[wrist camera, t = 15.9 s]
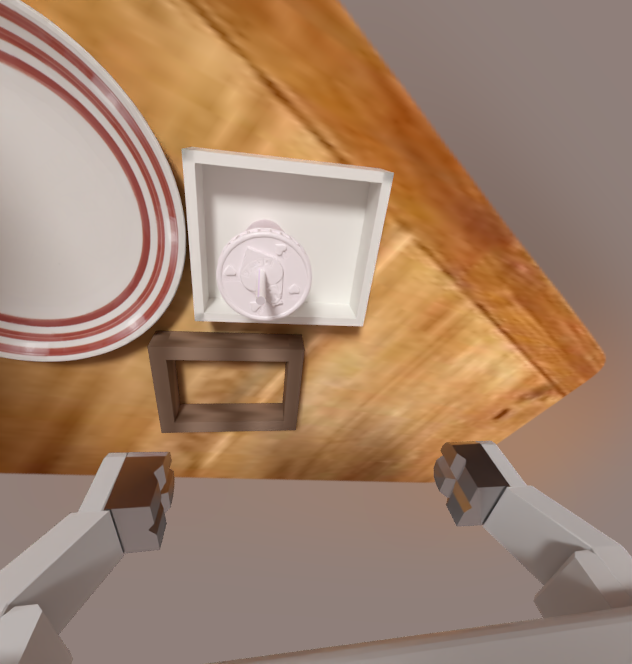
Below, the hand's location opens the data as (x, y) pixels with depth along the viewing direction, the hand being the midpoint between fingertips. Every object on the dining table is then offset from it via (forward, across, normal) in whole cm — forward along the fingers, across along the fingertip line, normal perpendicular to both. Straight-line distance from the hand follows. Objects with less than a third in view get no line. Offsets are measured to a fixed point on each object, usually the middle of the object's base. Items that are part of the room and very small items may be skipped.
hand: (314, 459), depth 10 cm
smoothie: (+24, +1, 0) cm, 24 cm away
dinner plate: (+26, +22, -1) cm, 33 cm away
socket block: (+25, +4, +16) cm, 30 cm away
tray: (+25, 0, 0) cm, 25 cm away
